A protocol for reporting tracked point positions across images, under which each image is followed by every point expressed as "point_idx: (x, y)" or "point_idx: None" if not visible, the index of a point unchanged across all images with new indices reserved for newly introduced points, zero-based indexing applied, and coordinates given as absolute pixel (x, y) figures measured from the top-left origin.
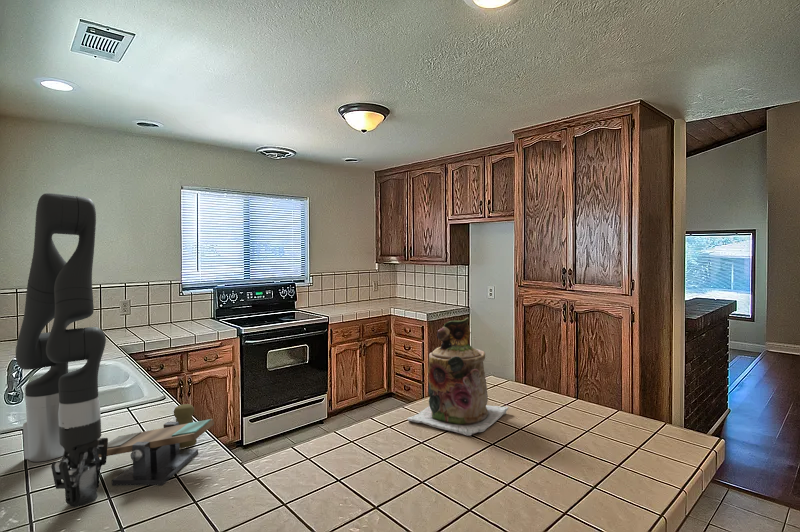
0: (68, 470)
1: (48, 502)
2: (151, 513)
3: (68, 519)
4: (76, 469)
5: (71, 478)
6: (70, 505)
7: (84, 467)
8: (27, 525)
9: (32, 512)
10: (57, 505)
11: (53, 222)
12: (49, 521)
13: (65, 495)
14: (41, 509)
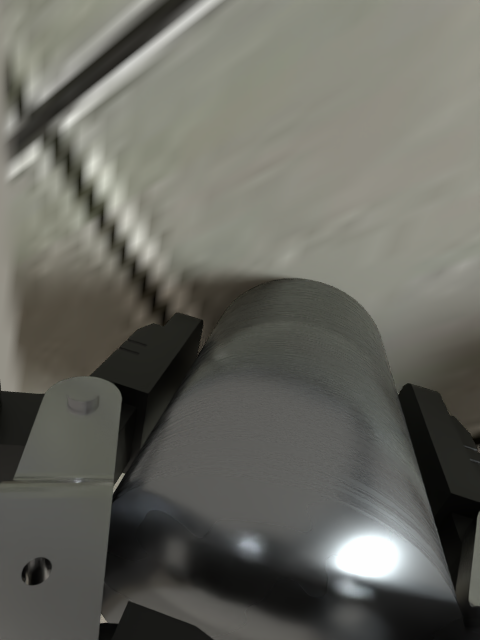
0: (39, 573)
1: (353, 68)
2: (100, 622)
3: (69, 353)
4: (258, 564)
5: (121, 480)
6: (234, 302)
7: (307, 637)
8: (3, 116)
9: (185, 16)
10: (265, 196)
11: None
12: (50, 252)
13: (116, 352)
14: (224, 79)
